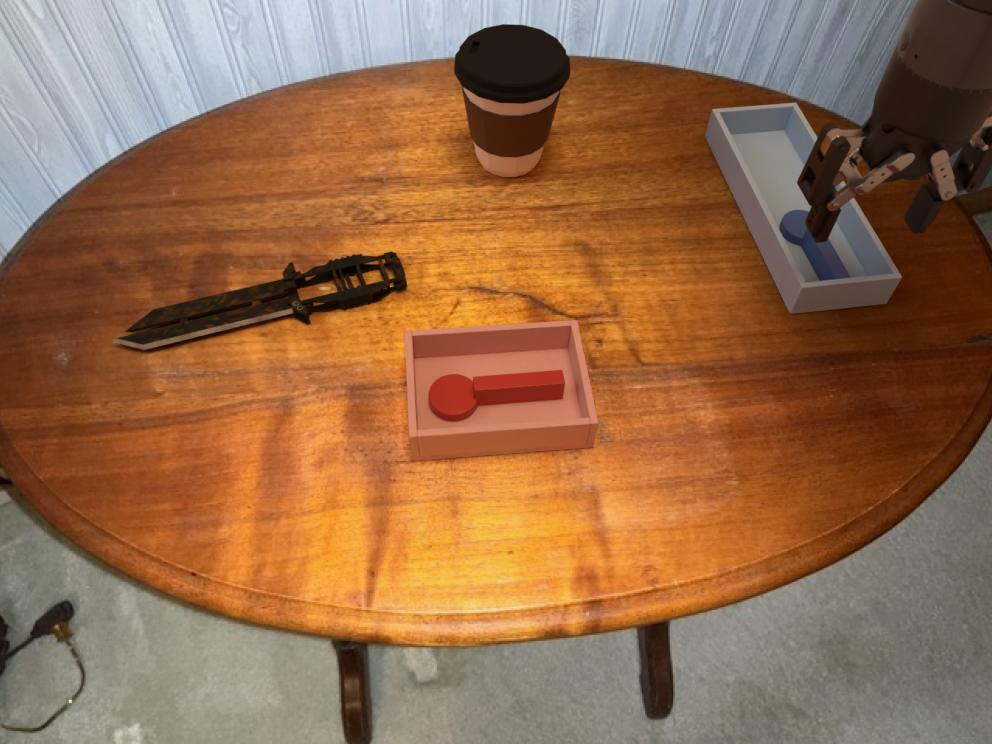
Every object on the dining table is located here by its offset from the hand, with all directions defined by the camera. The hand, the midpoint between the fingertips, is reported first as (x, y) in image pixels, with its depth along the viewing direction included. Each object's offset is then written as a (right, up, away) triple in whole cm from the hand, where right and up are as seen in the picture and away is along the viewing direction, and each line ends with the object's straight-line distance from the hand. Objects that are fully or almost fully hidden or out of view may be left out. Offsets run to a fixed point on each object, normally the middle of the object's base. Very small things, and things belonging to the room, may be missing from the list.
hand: (864, 231), depth 68 cm
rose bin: (-31, -14, -1) cm, 34 cm away
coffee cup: (-29, +10, +17) cm, 36 cm away
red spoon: (-30, -14, -2) cm, 33 cm away
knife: (-51, -6, +4) cm, 51 cm away
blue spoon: (-1, -1, +8) cm, 9 cm away
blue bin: (-2, +4, +13) cm, 14 cm away
